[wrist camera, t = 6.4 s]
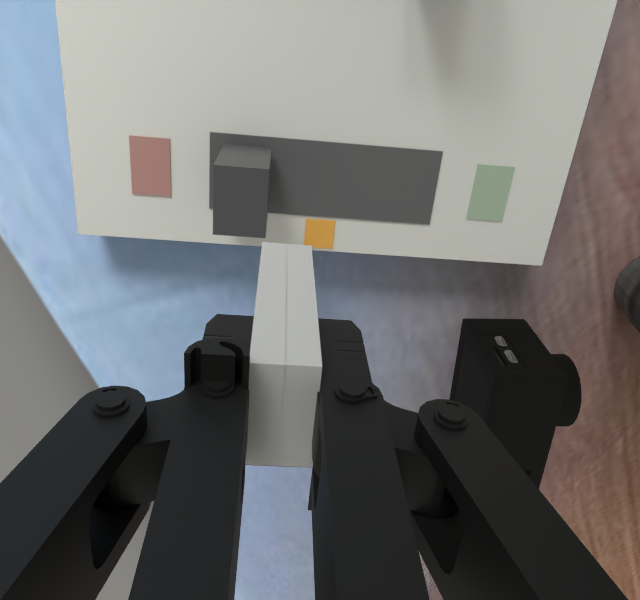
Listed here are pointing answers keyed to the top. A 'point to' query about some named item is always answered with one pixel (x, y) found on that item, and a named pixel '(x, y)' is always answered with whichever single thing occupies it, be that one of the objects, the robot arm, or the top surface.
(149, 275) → the top surface
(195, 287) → the top surface
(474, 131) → the breaker panel
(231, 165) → the block
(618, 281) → the beverage cup
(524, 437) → the digital camera
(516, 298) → the top surface
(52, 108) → the top surface
